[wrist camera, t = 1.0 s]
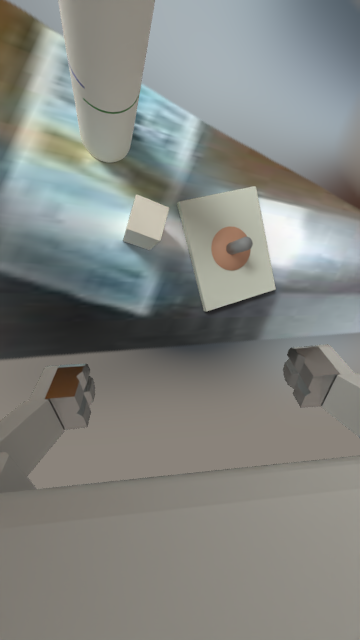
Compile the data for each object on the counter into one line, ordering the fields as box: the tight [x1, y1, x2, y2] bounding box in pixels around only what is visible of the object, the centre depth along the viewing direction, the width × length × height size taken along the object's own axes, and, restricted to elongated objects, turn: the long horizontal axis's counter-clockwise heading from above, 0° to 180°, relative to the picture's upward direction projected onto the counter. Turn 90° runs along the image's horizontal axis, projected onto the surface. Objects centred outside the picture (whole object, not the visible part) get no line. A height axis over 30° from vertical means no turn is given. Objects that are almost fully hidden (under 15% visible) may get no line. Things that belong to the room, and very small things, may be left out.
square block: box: [123, 194, 169, 250], centre depth 36 cm, size 4×4×8 cm
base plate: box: [177, 186, 275, 312], centre depth 41 cm, size 18×14×6 cm
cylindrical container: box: [58, 0, 155, 163], centre depth 25 cm, size 7×7×25 cm
